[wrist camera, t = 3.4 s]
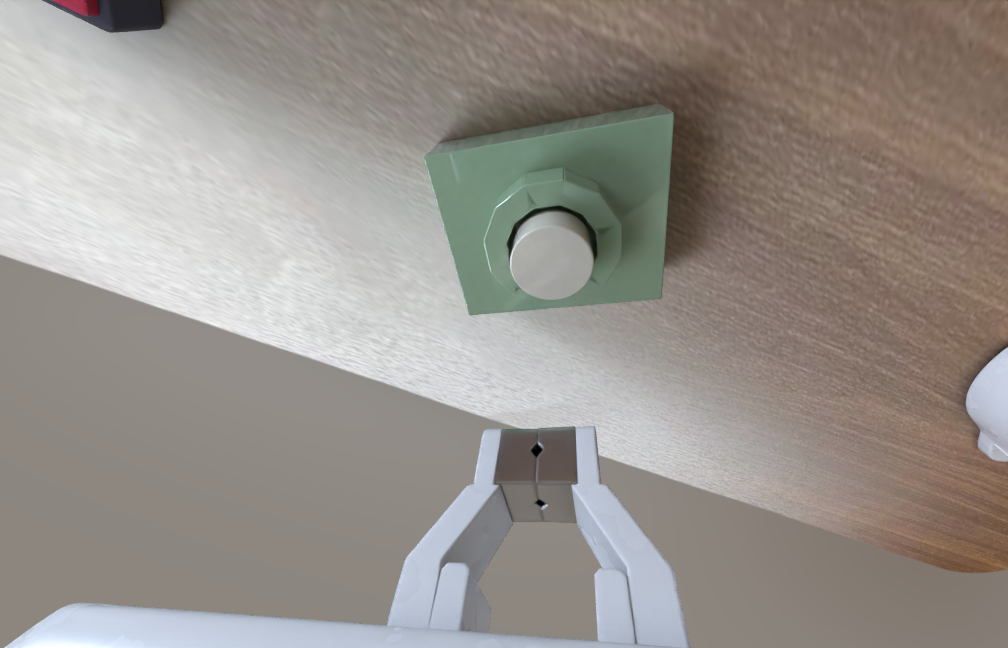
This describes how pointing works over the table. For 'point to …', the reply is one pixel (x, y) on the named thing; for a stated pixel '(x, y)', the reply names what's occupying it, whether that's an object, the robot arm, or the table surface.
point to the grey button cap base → (559, 203)
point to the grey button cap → (552, 255)
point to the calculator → (115, 13)
